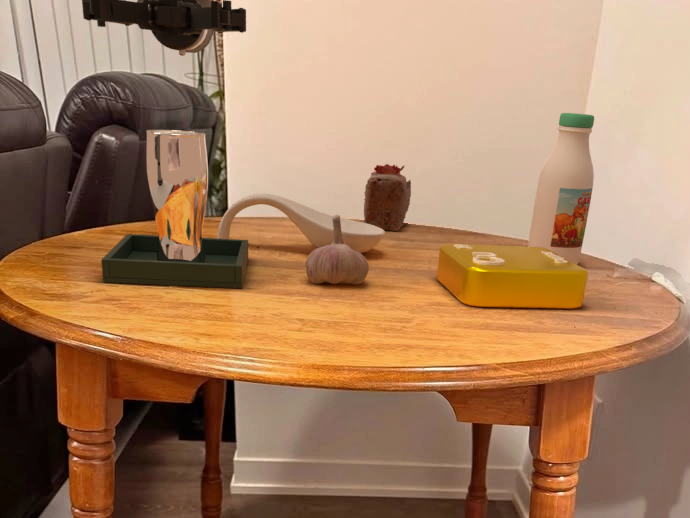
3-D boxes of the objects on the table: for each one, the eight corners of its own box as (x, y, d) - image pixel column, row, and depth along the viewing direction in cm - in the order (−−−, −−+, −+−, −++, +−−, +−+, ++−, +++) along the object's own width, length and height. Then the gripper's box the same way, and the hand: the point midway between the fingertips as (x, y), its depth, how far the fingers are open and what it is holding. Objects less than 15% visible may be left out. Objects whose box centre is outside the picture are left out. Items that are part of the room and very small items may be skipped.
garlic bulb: (295, 284, 93) (297, 214, 89) (320, 273, 99) (323, 207, 95) (354, 294, 91) (358, 223, 87) (376, 281, 97) (380, 215, 93)
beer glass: (182, 274, 91) (177, 135, 84) (140, 264, 94) (131, 129, 87) (222, 265, 96) (219, 134, 90) (180, 256, 100) (175, 128, 93)
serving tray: (103, 282, 88) (101, 259, 87) (128, 254, 102) (126, 233, 101) (242, 288, 90) (241, 266, 88) (248, 259, 103) (248, 239, 102)
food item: (364, 216, 142) (368, 158, 137) (408, 219, 142) (413, 161, 137) (360, 229, 130) (364, 166, 125) (408, 232, 130) (414, 169, 125)
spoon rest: (381, 246, 117) (384, 196, 114) (386, 263, 107) (390, 208, 104) (223, 237, 116) (222, 186, 113) (213, 253, 105) (211, 197, 102)
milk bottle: (526, 265, 112) (550, 112, 103) (524, 255, 119) (547, 110, 110) (580, 270, 111) (610, 116, 102) (576, 260, 118) (603, 115, 109)
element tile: (587, 310, 91) (596, 268, 89) (465, 307, 88) (470, 264, 86) (540, 279, 104) (547, 243, 102) (432, 276, 101) (436, 239, 99)
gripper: (267, 57, 113) (262, 54, 94) (90, 44, 110) (49, 38, 92) (267, -4, 109) (263, -20, 91) (85, -19, 107) (41, -38, 88)
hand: (155, 9), depth 91 cm, fingers open, 13 cm apart
